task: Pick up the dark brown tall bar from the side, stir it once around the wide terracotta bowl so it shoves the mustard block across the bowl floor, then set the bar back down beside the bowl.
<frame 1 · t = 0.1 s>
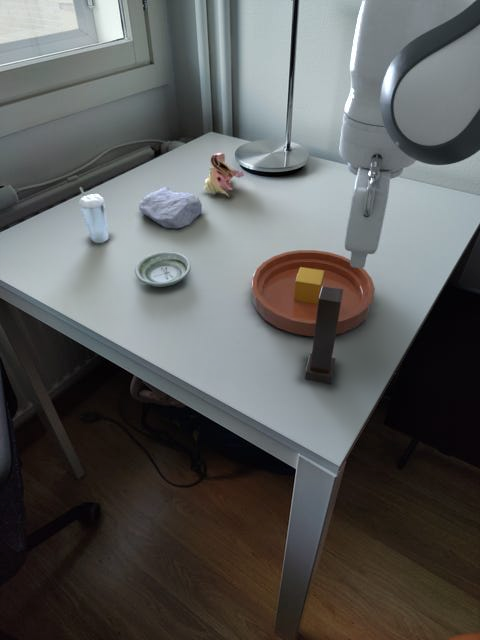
hand: (360, 245, 61), 15 cm above the table, tool pointing down, fingers open, 8 cm apart
saucer: (164, 278, 82), on the table
dark brown tall bar: (319, 372, 65), on the table
bowl: (310, 298, 77), on the table
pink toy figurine: (225, 190, 108), on the table
block: (308, 295, 77), point 1 cm above the table, touching bowl
stone block: (169, 216, 99), on the table
milkshake: (99, 239, 93), on the table
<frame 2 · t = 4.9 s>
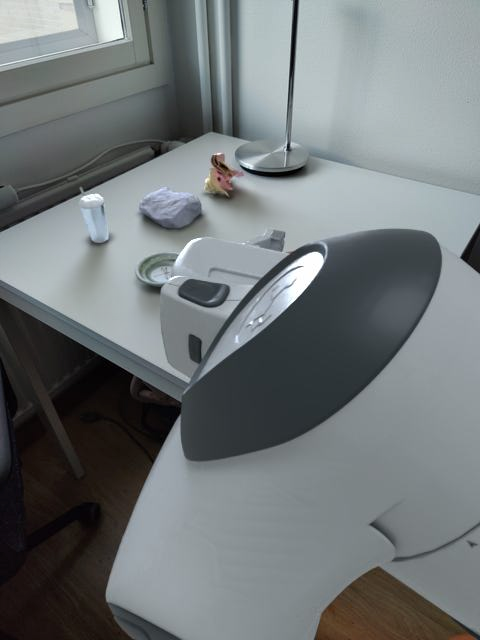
hand: (332, 248, 38), 28 cm above the table, tool horizontal, fingers open, 8 cm apart
nothing on the table moved.
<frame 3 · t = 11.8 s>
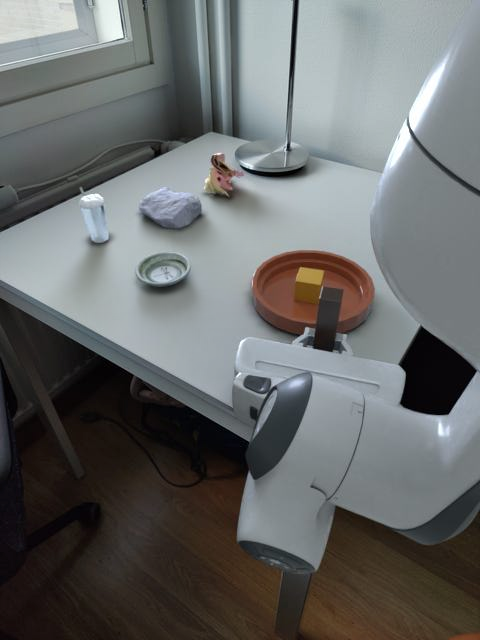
hand: (325, 334, 61), 7 cm above the table, tool horizontal, fingers closed on dark brown tall bar, 2 cm apart
dark brown tall bar: (319, 372, 65), on the table, touching gripper
everything else where it was.
when the fingers open (6 cm above the table, at t = 30.7 s): dark brown tall bar stays where it is, on the table.
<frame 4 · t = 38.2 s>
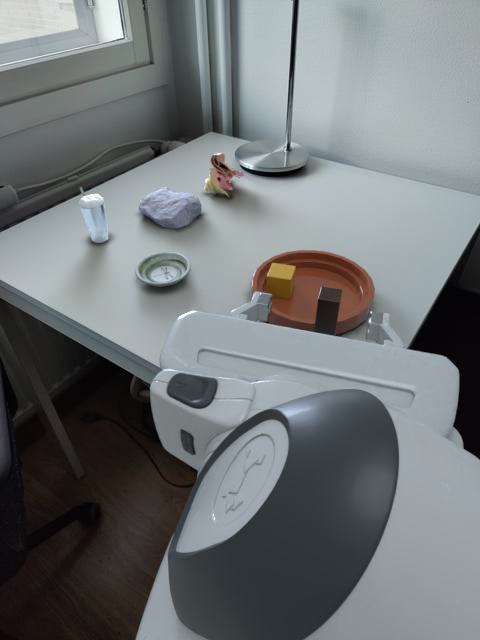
hand: (319, 308, 38), 24 cm above the table, tool horizontal, fingers open, 8 cm apart
dark brown tall bar: (318, 372, 65), on the table
block: (280, 290, 78), point 1 cm above the table, touching bowl
everything else where it was.
at the end: block moved 4.7 cm from its start; block inside the target area in the bowl (5.2 cm from its centre), point 0.6 cm above the bowl's base; dark brown tall bar tilted 0° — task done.
